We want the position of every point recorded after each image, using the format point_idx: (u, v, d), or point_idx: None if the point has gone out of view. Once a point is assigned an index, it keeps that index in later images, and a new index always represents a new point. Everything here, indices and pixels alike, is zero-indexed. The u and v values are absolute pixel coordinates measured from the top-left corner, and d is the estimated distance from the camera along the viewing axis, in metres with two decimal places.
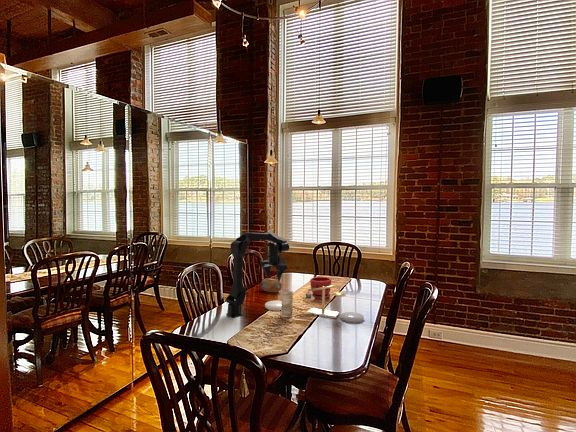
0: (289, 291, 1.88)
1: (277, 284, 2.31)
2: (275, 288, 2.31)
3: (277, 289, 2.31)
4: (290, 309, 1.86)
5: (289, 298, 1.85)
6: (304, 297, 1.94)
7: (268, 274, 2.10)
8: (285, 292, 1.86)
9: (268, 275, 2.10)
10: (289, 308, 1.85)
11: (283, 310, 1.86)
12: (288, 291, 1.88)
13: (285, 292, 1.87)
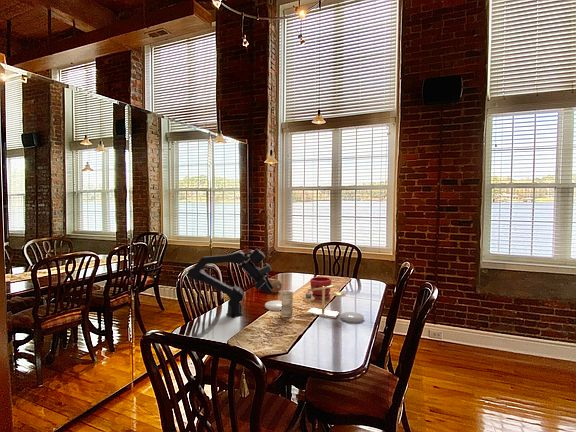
0: (289, 291, 1.88)
1: (277, 284, 2.31)
2: (275, 288, 2.31)
3: (277, 289, 2.31)
4: (290, 309, 1.86)
5: (289, 298, 1.85)
6: (304, 297, 1.94)
7: (269, 285, 1.92)
8: (285, 292, 1.86)
9: (270, 286, 1.92)
10: (289, 308, 1.85)
11: (283, 310, 1.86)
12: (288, 291, 1.88)
13: (285, 292, 1.87)
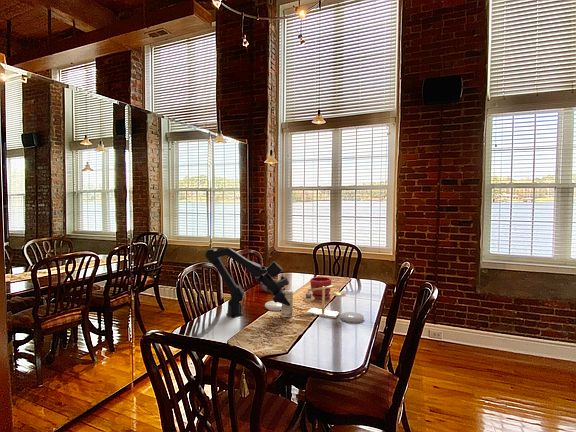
0: (289, 291, 1.88)
1: None
2: None
3: None
4: (290, 309, 1.86)
5: (289, 298, 1.85)
6: (304, 297, 1.94)
7: None
8: (285, 292, 1.86)
9: None
10: (289, 308, 1.85)
11: (283, 310, 1.86)
12: (288, 291, 1.88)
13: (285, 292, 1.87)
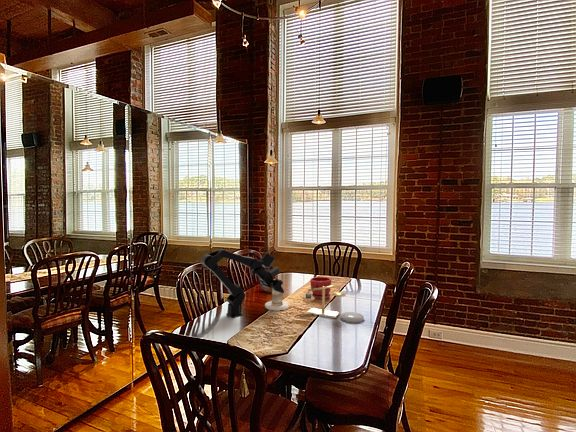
0: None
1: None
2: None
3: None
4: (281, 297, 2.01)
5: None
6: (304, 297, 1.94)
7: None
8: None
9: None
10: (281, 296, 2.00)
11: (276, 299, 1.99)
12: None
13: None
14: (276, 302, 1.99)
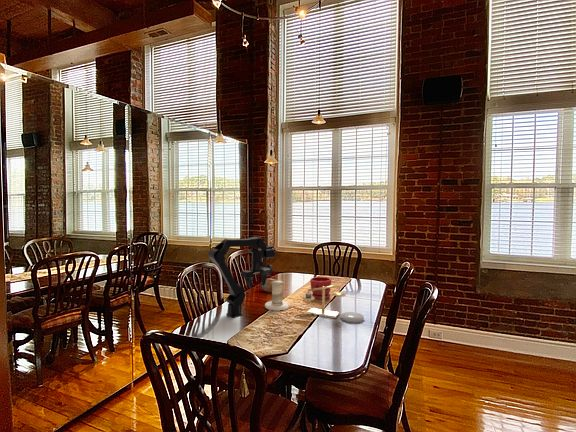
0: (278, 281, 2.03)
1: None
2: None
3: None
4: (281, 297, 2.01)
5: (281, 288, 2.00)
6: (304, 297, 1.94)
7: (263, 281, 1.99)
8: (277, 282, 2.00)
9: (262, 282, 1.99)
10: (281, 297, 2.00)
11: (276, 299, 1.99)
12: (277, 281, 2.02)
13: (276, 282, 2.00)
14: (276, 302, 1.99)
